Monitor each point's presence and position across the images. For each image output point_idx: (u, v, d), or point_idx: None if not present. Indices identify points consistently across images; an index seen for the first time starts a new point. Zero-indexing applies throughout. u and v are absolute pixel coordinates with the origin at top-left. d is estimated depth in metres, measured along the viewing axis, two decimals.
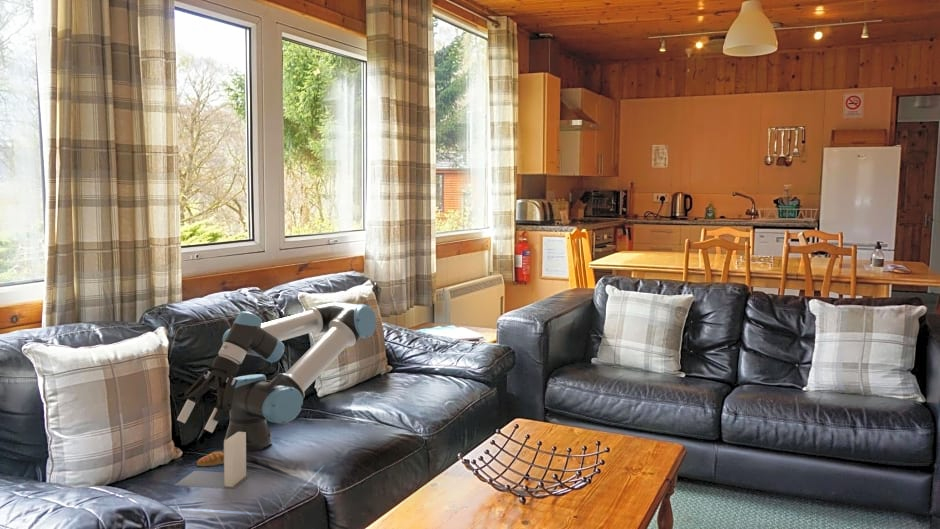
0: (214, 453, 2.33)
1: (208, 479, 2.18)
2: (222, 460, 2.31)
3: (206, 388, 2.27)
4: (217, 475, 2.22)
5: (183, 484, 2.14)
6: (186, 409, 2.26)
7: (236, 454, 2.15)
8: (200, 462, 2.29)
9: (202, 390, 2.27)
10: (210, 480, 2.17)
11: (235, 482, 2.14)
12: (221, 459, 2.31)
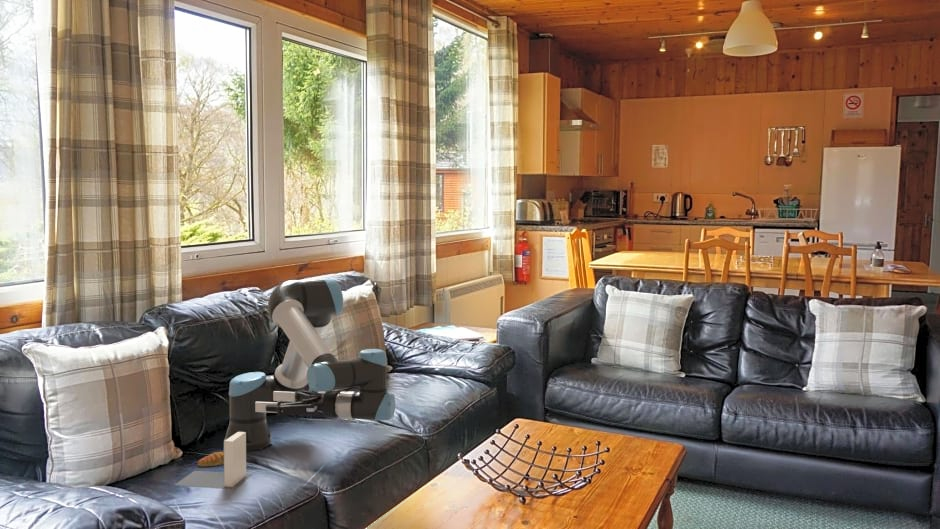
0: (215, 453, 2.33)
1: (208, 479, 2.18)
2: (223, 460, 2.31)
3: None
4: (217, 475, 2.22)
5: (183, 484, 2.14)
6: None
7: (236, 454, 2.15)
8: (201, 462, 2.29)
9: None
10: (210, 480, 2.17)
11: (235, 482, 2.14)
12: (222, 460, 2.31)
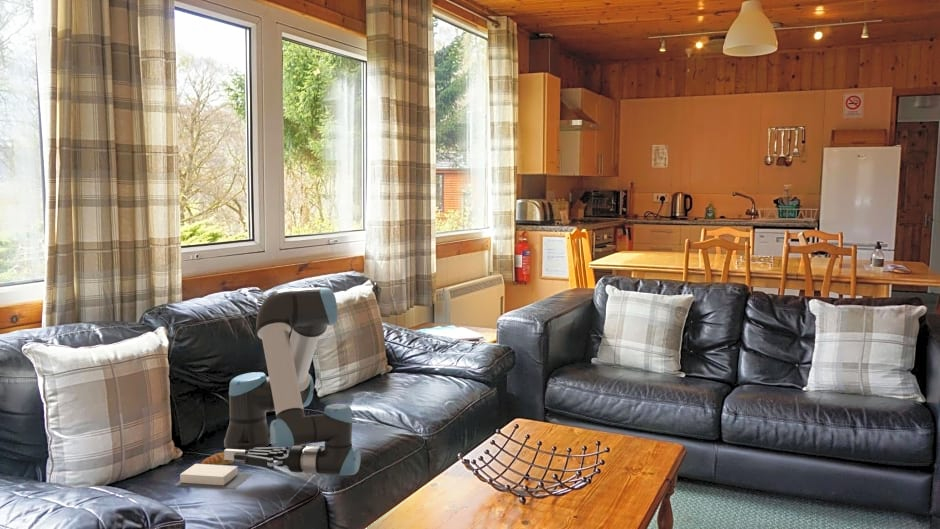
0: (218, 454, 2.32)
1: None
2: (226, 461, 2.31)
3: None
4: None
5: (183, 484, 2.14)
6: None
7: (200, 471, 2.17)
8: (204, 463, 2.28)
9: None
10: None
11: (223, 474, 2.15)
12: (225, 460, 2.31)
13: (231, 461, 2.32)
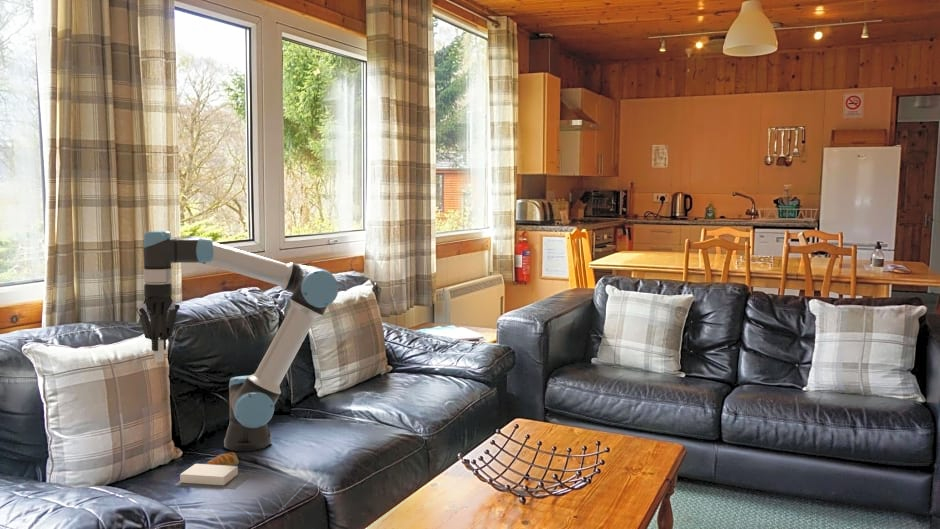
0: (222, 455, 2.31)
1: None
2: (232, 462, 2.30)
3: (160, 317, 2.27)
4: None
5: (183, 484, 2.14)
6: None
7: (200, 471, 2.17)
8: None
9: (160, 321, 2.27)
10: None
11: (223, 474, 2.15)
12: (230, 461, 2.30)
13: (236, 462, 2.31)
